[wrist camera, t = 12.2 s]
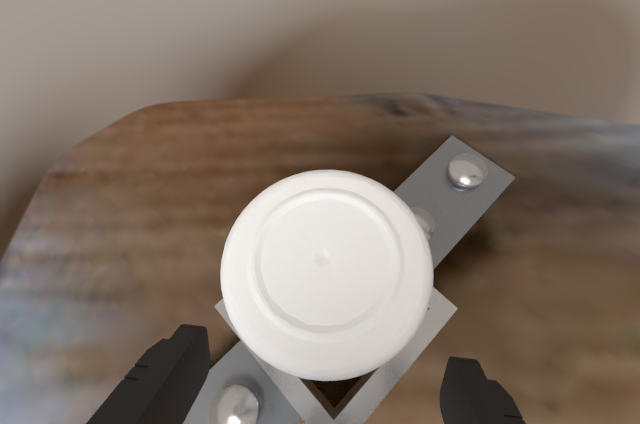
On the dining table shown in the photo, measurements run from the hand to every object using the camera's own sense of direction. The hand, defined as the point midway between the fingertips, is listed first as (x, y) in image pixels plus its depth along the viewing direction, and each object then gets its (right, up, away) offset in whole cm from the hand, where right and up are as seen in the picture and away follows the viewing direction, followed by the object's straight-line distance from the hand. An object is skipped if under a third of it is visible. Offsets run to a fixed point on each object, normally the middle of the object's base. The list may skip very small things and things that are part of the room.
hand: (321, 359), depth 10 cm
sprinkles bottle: (+1, -2, +9) cm, 9 cm away
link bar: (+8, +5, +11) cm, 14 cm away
